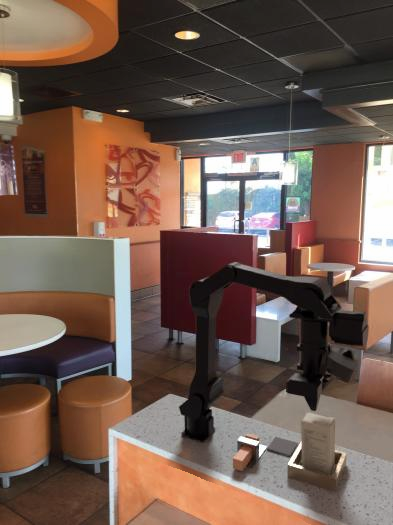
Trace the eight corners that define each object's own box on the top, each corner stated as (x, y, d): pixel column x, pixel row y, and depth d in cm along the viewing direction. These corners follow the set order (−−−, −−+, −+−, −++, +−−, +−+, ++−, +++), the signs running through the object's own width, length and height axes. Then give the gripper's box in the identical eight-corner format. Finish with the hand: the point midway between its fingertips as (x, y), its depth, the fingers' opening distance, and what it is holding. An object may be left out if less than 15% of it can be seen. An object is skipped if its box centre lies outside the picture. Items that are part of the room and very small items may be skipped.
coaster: (267, 450, 104) (267, 448, 103) (275, 438, 108) (275, 436, 108) (290, 456, 101) (290, 455, 101) (297, 444, 106) (297, 442, 105)
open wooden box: (287, 477, 94) (287, 464, 93) (301, 452, 102) (301, 440, 102) (335, 492, 89) (336, 479, 88) (346, 465, 97) (346, 452, 97)
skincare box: (335, 470, 96) (337, 417, 94) (329, 481, 92) (331, 427, 90) (305, 461, 99) (307, 410, 97) (299, 472, 95) (300, 419, 93)
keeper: (232, 462, 99) (232, 445, 99) (248, 442, 107) (249, 426, 106) (252, 468, 97) (252, 451, 96) (267, 447, 105) (267, 431, 104)
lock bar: (231, 467, 97) (231, 452, 96) (247, 447, 104) (247, 432, 103) (243, 471, 95) (243, 456, 94) (259, 450, 102) (259, 436, 102)
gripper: (344, 361, 80) (343, 441, 82) (362, 331, 96) (361, 399, 98) (284, 352, 85) (285, 427, 88) (311, 325, 101) (311, 389, 104)
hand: (313, 410), depth 94 cm, fingers closed
